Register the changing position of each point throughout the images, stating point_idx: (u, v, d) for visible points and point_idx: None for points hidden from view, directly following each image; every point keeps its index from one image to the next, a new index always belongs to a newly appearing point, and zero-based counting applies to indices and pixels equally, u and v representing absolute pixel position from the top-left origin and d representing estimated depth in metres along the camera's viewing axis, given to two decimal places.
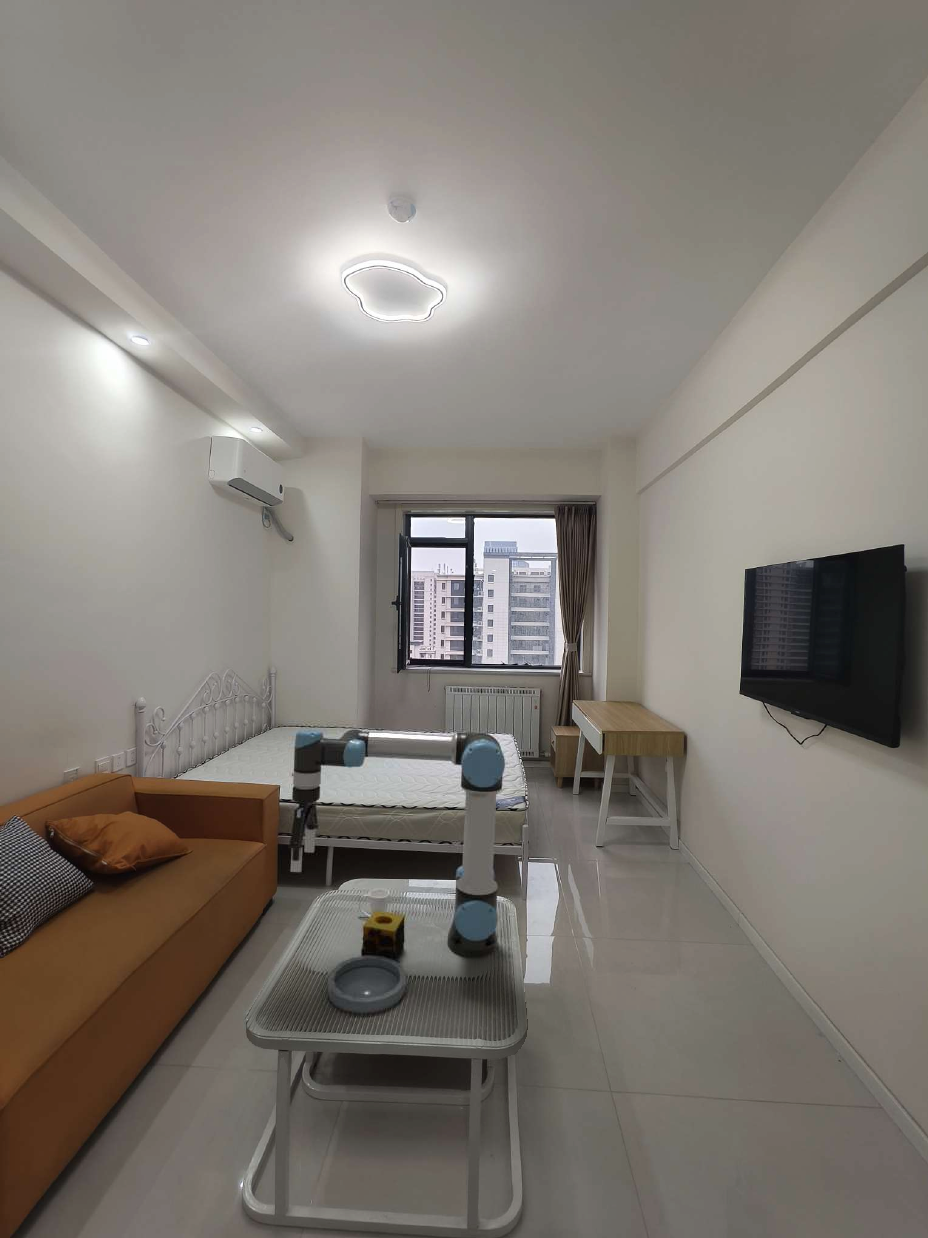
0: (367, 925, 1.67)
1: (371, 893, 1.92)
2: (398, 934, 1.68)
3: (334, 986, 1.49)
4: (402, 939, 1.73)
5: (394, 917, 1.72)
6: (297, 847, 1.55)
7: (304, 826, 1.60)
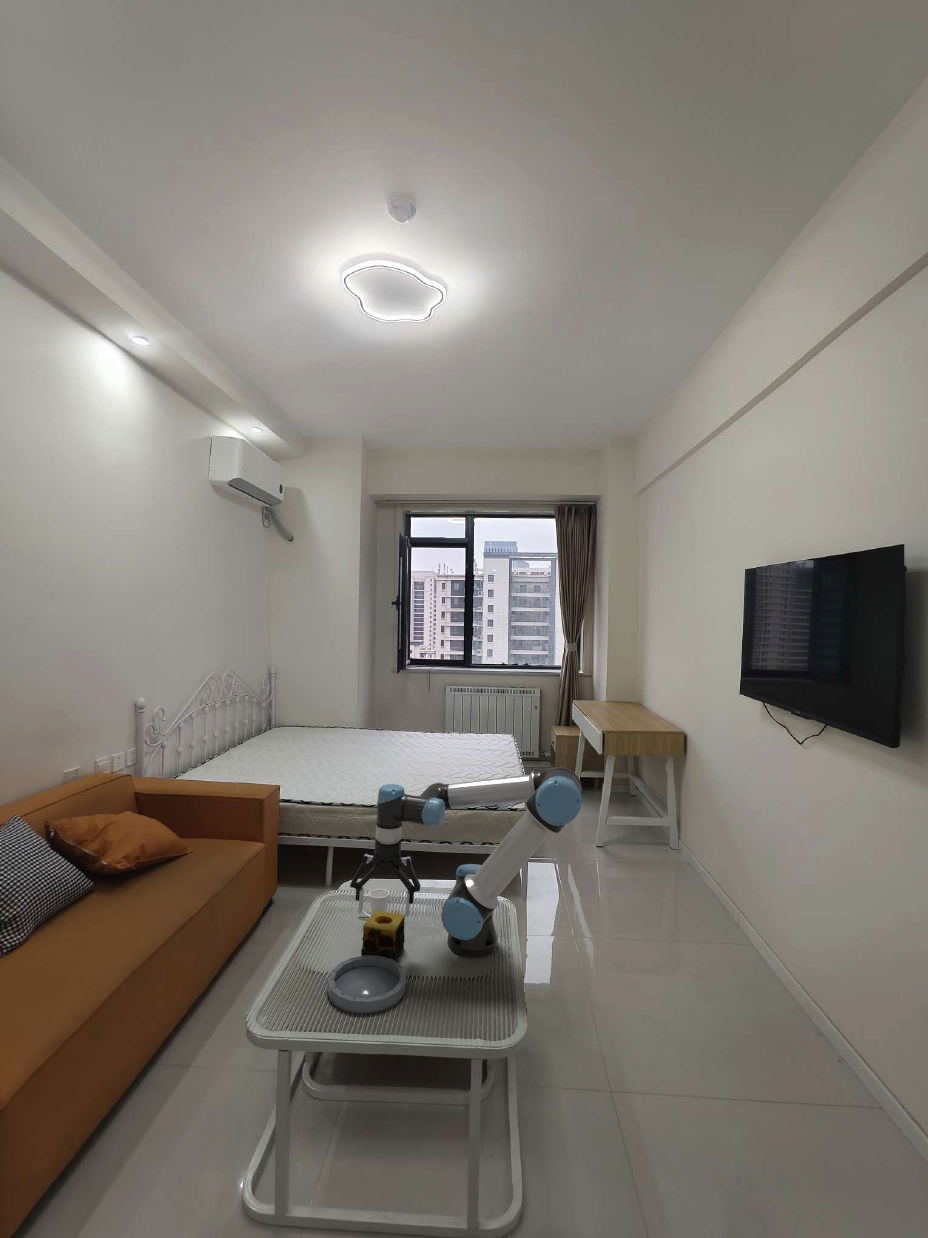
0: (367, 925, 1.67)
1: (371, 893, 1.92)
2: (398, 934, 1.68)
3: (334, 986, 1.49)
4: (402, 939, 1.73)
5: (394, 917, 1.72)
6: None
7: (369, 874, 1.69)
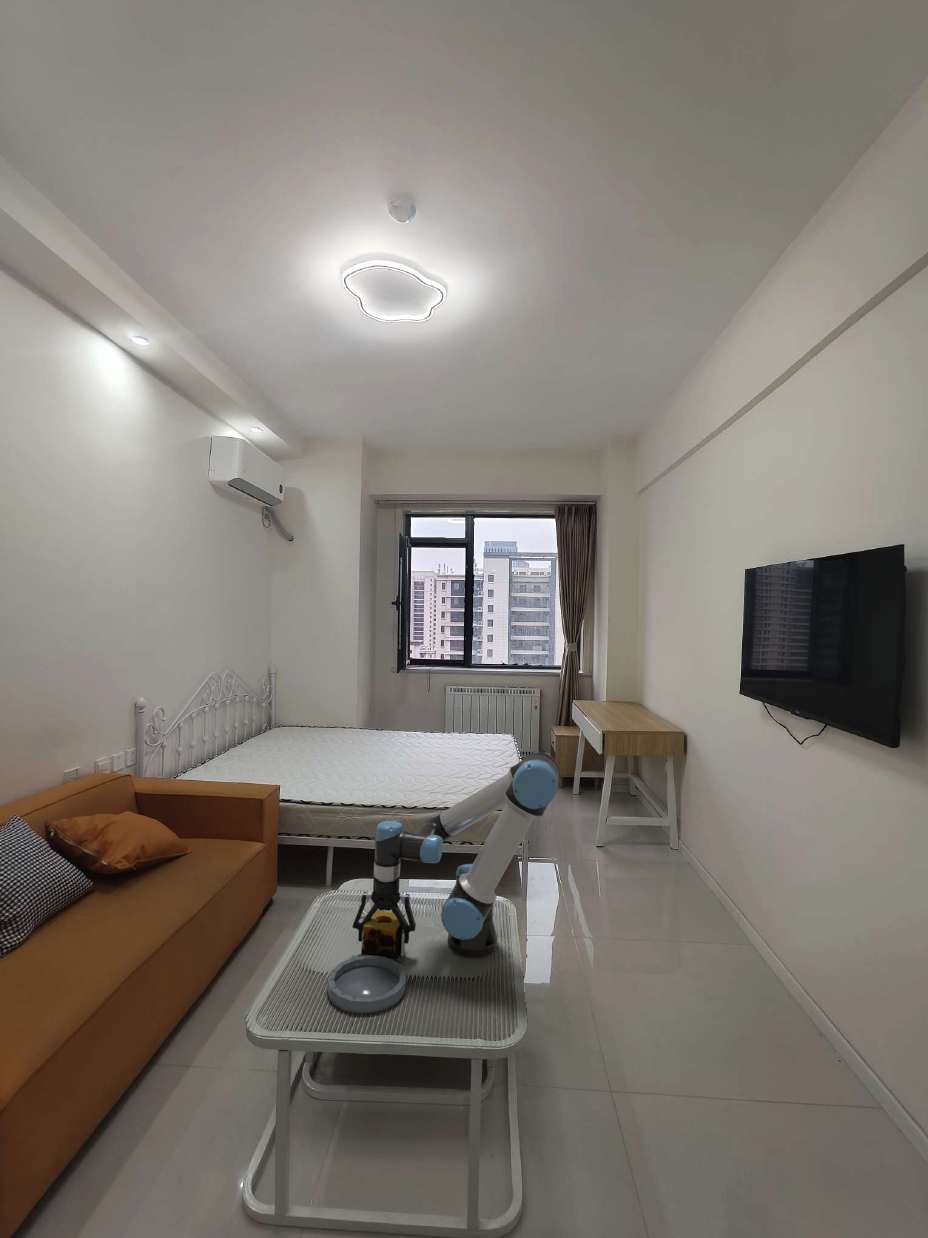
0: (367, 925, 1.67)
1: (371, 893, 1.92)
2: (398, 934, 1.68)
3: (334, 986, 1.49)
4: None
5: (394, 917, 1.72)
6: None
7: (369, 913, 1.69)
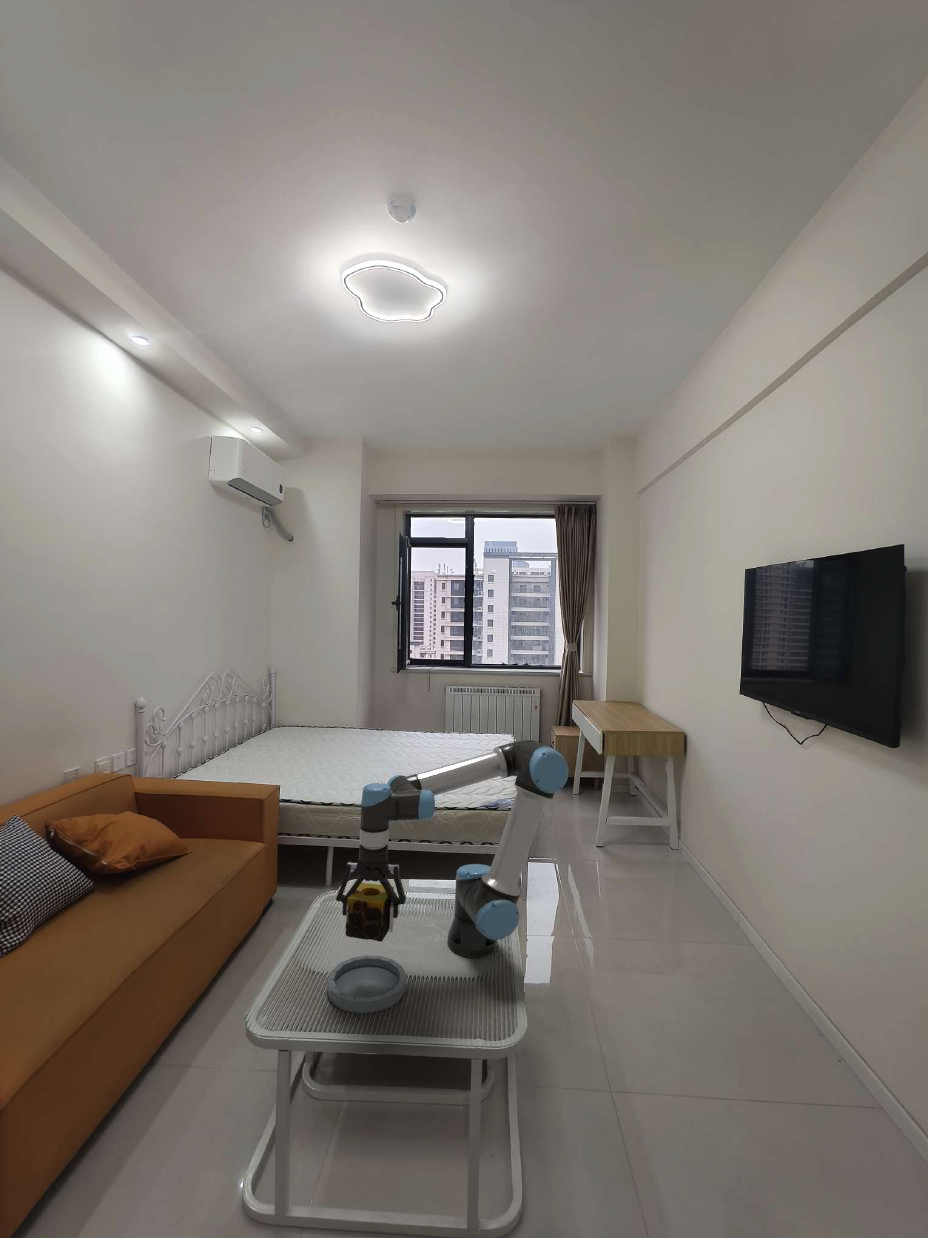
0: (352, 897, 1.51)
1: None
2: (386, 906, 1.52)
3: (334, 986, 1.49)
4: None
5: (382, 889, 1.56)
6: None
7: (354, 884, 1.53)
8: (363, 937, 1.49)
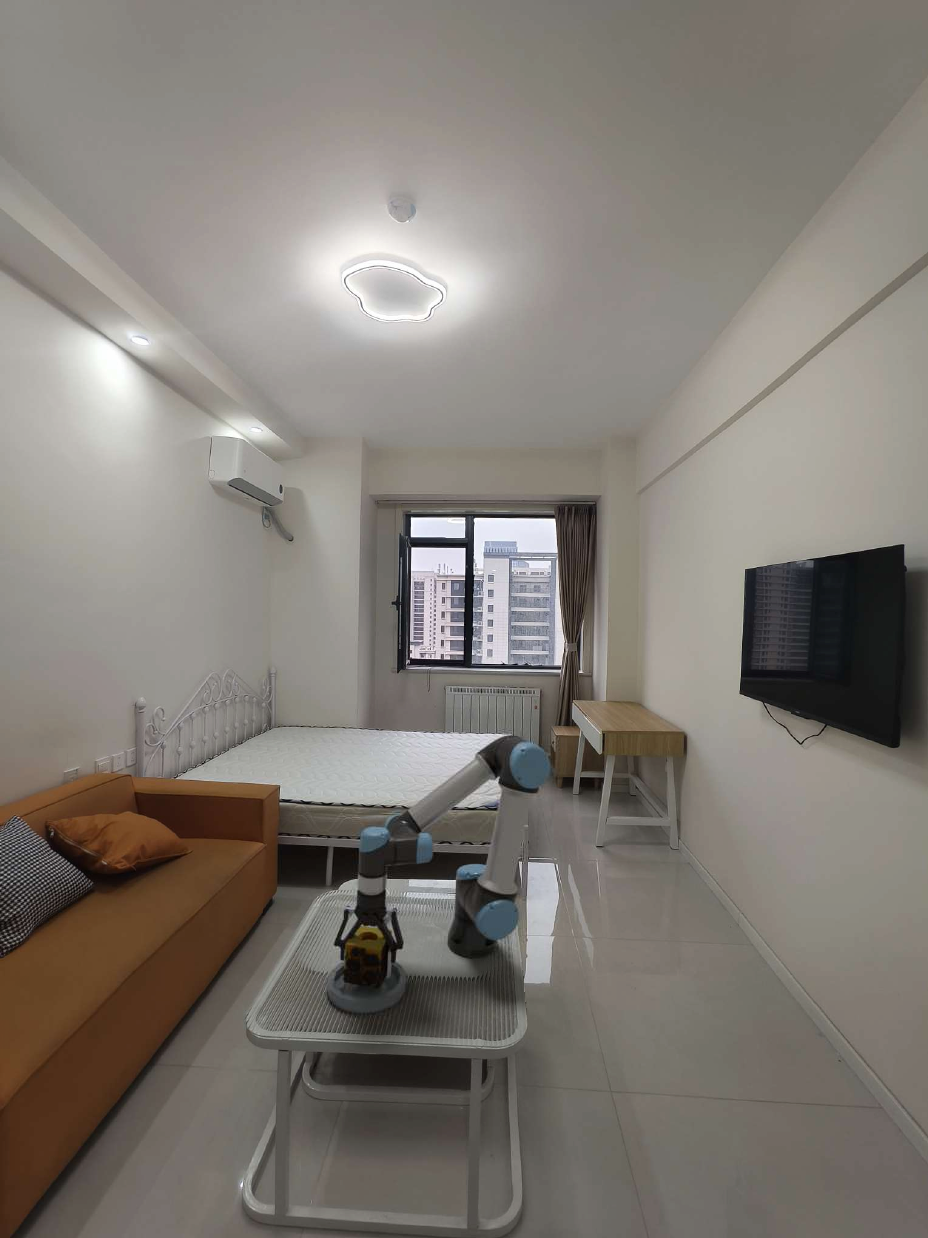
0: (350, 942, 1.51)
1: None
2: (384, 952, 1.52)
3: (334, 986, 1.49)
4: None
5: (380, 933, 1.56)
6: None
7: (352, 929, 1.53)
8: (361, 983, 1.49)
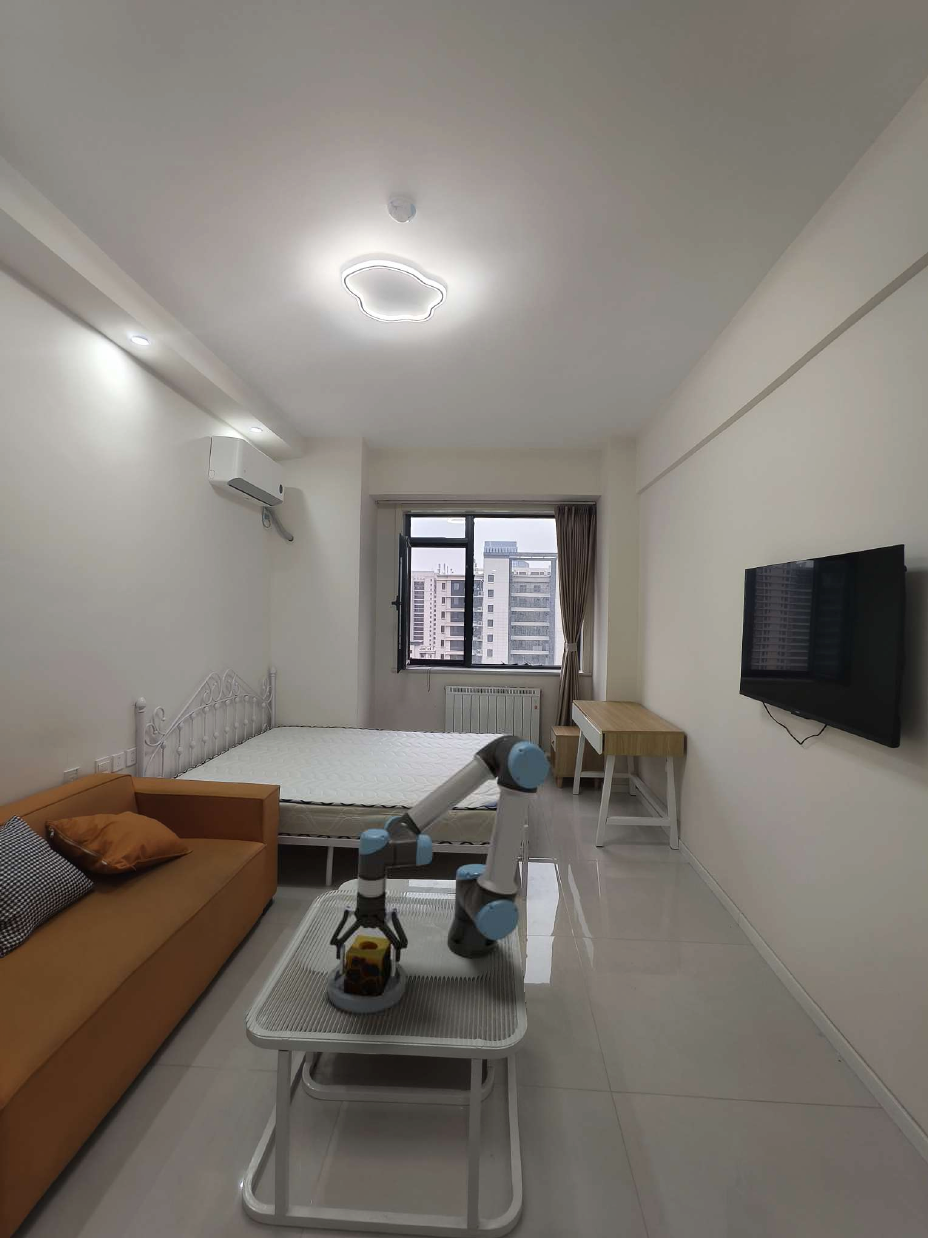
0: (350, 952, 1.51)
1: None
2: (384, 961, 1.52)
3: (334, 986, 1.49)
4: (388, 966, 1.57)
5: (380, 943, 1.56)
6: None
7: (350, 929, 1.53)
8: (361, 993, 1.49)
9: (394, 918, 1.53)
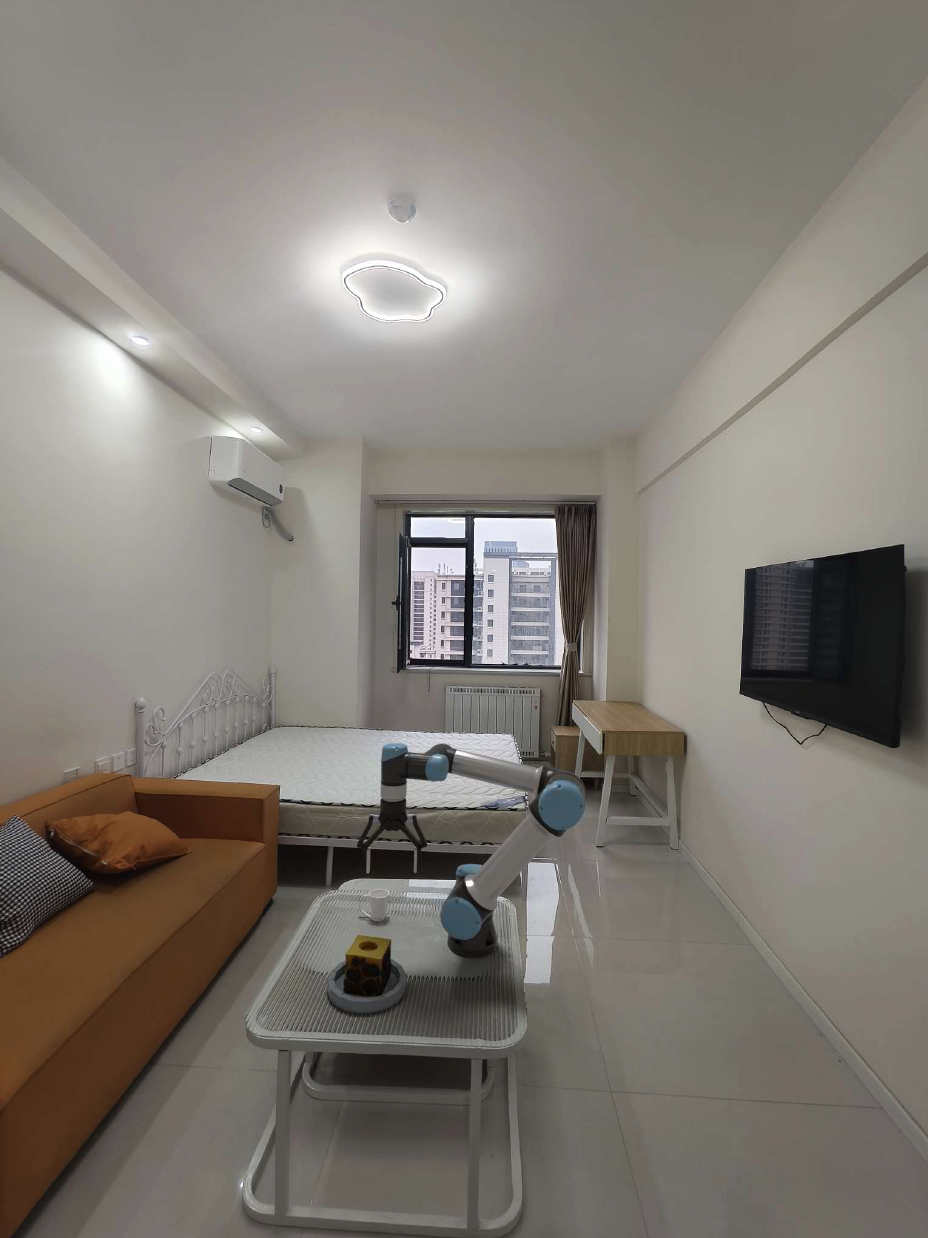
0: (350, 952, 1.51)
1: (371, 893, 1.92)
2: (384, 961, 1.52)
3: (334, 986, 1.49)
4: (388, 966, 1.57)
5: (380, 943, 1.56)
6: (357, 846, 1.69)
7: (375, 833, 1.69)
8: (361, 993, 1.49)
9: (415, 820, 1.70)
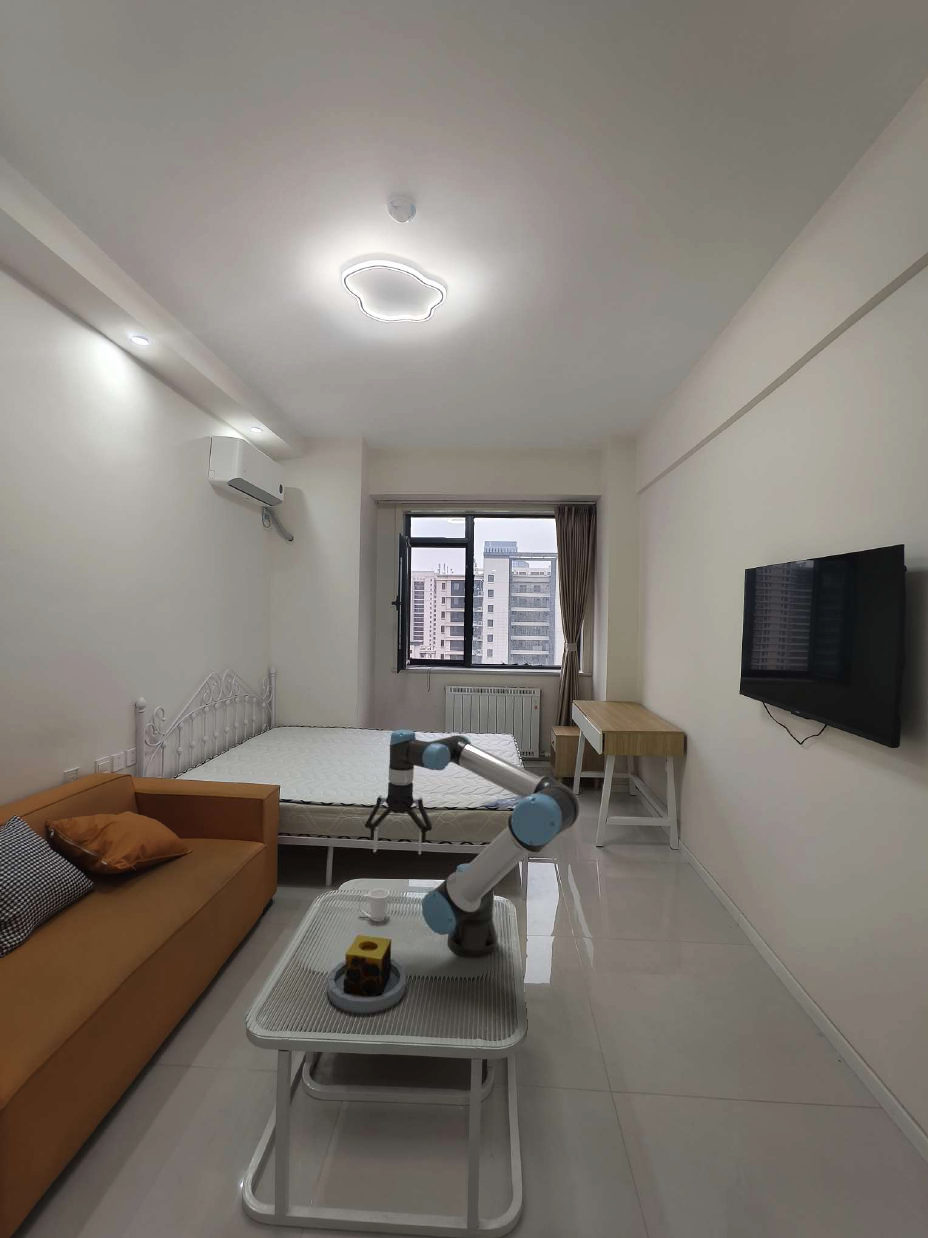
0: (350, 952, 1.51)
1: (371, 893, 1.92)
2: (384, 961, 1.52)
3: (334, 986, 1.49)
4: (388, 966, 1.57)
5: (380, 943, 1.56)
6: None
7: (382, 814, 1.77)
8: (361, 993, 1.49)
9: (420, 804, 1.77)
